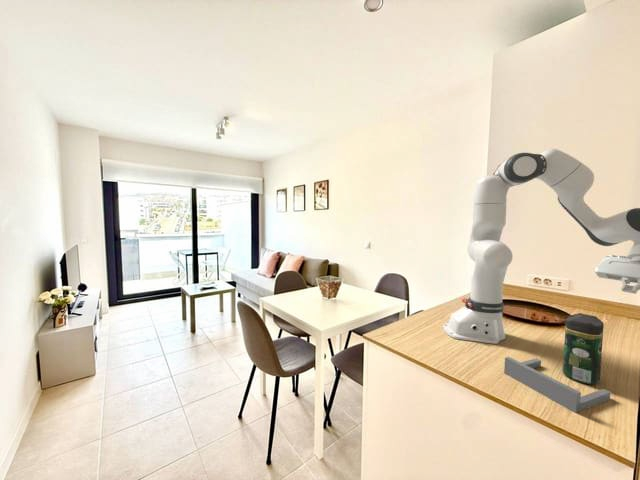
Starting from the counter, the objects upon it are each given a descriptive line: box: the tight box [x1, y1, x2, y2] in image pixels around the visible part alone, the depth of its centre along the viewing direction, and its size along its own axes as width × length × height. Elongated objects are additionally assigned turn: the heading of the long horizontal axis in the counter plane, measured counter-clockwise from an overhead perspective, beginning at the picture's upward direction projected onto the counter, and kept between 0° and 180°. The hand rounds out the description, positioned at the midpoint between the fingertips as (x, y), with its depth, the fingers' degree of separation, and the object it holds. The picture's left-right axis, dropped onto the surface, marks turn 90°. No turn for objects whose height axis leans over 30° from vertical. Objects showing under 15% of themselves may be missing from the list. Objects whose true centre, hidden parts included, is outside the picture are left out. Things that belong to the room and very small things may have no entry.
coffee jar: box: [562, 312, 605, 386], centre depth 80 cm, size 10×8×19 cm
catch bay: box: [503, 356, 612, 414], centre depth 76 cm, size 14×18×5 cm
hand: (628, 291), depth 86 cm, fingers closed
